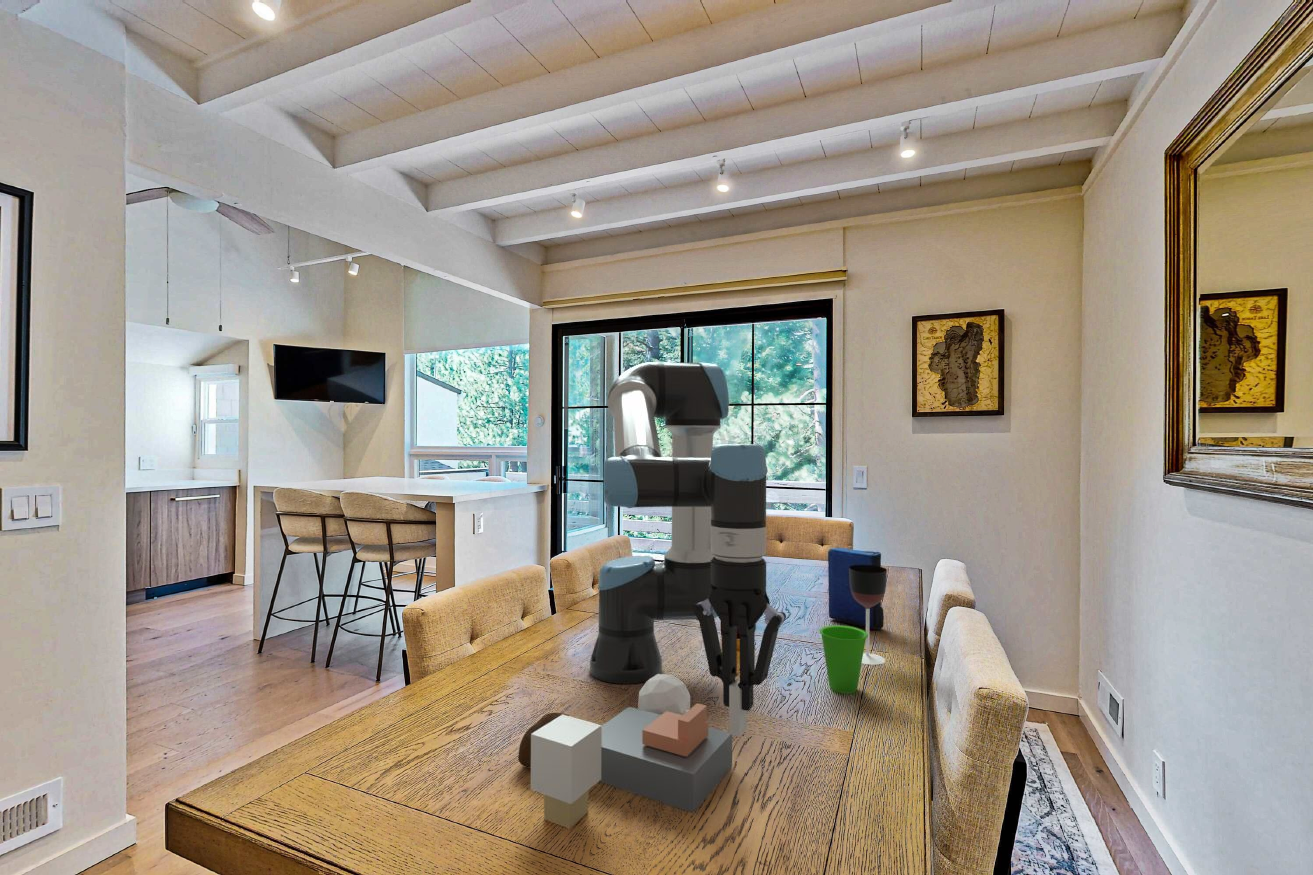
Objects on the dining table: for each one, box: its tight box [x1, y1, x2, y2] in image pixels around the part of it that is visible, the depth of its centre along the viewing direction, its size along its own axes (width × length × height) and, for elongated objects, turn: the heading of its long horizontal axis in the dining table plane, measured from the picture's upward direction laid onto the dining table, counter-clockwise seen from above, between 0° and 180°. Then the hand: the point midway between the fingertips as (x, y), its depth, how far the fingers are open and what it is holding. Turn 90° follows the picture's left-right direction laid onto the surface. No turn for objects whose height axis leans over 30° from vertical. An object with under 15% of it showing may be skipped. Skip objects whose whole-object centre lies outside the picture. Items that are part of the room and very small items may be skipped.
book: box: [827, 546, 885, 630], centre depth 162 cm, size 14×5×20 cm, turn 42°
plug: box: [530, 713, 602, 829], centre depth 79 cm, size 6×6×11 cm
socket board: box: [598, 706, 733, 814], centre depth 89 cm, size 18×13×5 cm
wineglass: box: [849, 565, 888, 666], centre depth 136 cm, size 8×9×20 cm
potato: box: [518, 712, 570, 769], centre depth 92 cm, size 7×10×7 cm
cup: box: [819, 624, 868, 695], centre depth 120 cm, size 9×9×11 cm
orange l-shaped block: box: [642, 703, 709, 757], centre depth 88 cm, size 7×7×4 cm
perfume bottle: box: [637, 673, 691, 715], centre depth 102 cm, size 9×9×12 cm
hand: (738, 731), depth 83 cm, fingers closed
